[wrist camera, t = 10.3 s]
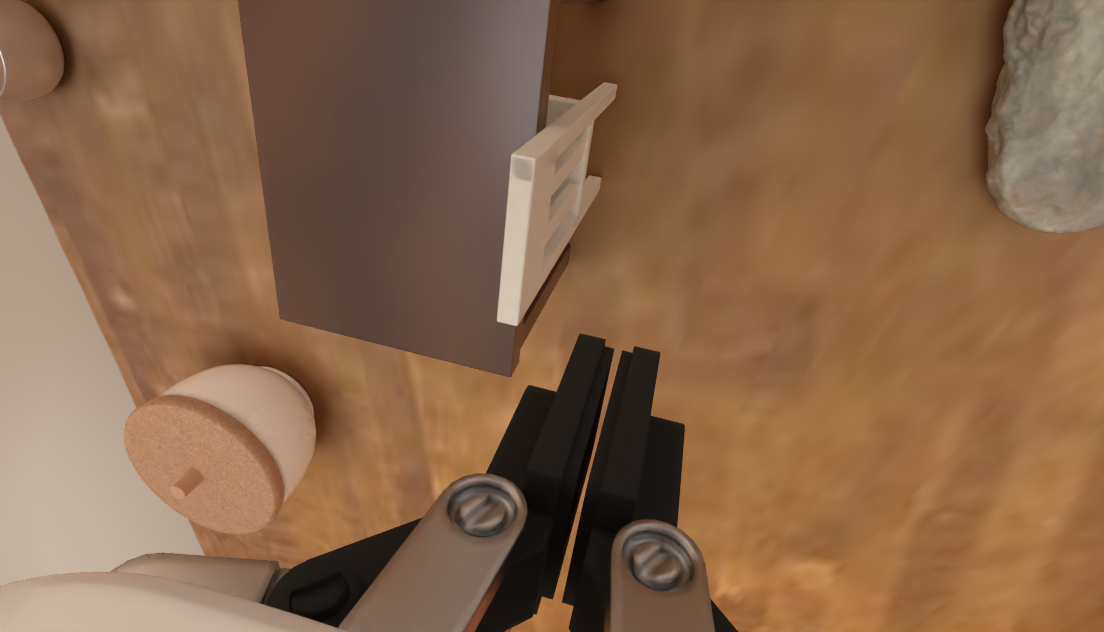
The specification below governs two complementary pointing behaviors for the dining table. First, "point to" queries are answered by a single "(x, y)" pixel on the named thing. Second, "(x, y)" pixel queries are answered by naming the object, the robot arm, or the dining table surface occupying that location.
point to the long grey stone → (1050, 117)
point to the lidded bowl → (225, 445)
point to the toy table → (398, 163)
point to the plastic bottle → (27, 53)
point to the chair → (547, 197)
